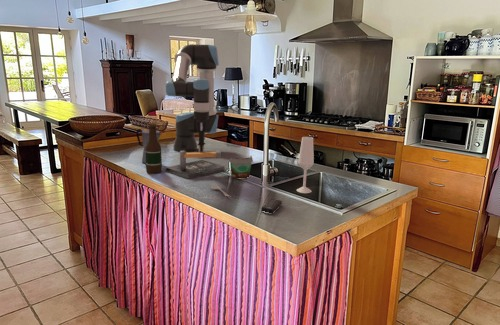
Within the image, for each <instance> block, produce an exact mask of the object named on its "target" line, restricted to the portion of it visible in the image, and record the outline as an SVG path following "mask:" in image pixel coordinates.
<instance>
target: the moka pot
mask: <svg viewBox="0 0 500 325" xmlns="http://www.w3.org/2000/svg"><path fill="white" fill-rule="evenodd" d="M139 133H140V134H141V137H142V142H141V139H140V135H139ZM135 135H136V138H137V142H138V144H139V145H138V146H141V147H143V152H142V157H141V162H142V163H143V164H146V154H145V149H146V145H147V143H148V141H149V129H142V128H141V129H140V128H138V129H137V131H136V132H135ZM156 135H157V141H158V142H159V140H160V137H161V135H162V132H160V130H157V129H156Z"/></svg>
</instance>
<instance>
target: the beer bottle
mask: <svg viewBox="0 0 500 325" xmlns="http://www.w3.org/2000/svg"><path fill="white" fill-rule="evenodd" d="M148 128H149V129H148V130H149V141H148V143H147V145H146V149H145V154H146V163H145V171H146V173H147V174H150V175H151V174H152V175H156V174H160V173H162V171H163V169H162V168H163V164H162V162H163V161H162V146H161V144H160V142H159V140H158V141H157V135H156V130H157V125H156V124H154V123H153V124H148Z"/></svg>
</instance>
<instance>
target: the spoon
mask: <svg viewBox="0 0 500 325" xmlns="http://www.w3.org/2000/svg"><path fill="white" fill-rule="evenodd" d="M213 188H214V189H213ZM217 188H218V189H217ZM210 189H211V190H214V191H217V190H219V191H220V192H221V193H222V194H223V195H224V196H225V197H226V196H230V195H229V194H228V193H227V192H226V191H224V190H222V187H220V186H219V185H217V184H214V183H212V184H211V185H210Z"/></svg>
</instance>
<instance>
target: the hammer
mask: <svg viewBox="0 0 500 325" xmlns="http://www.w3.org/2000/svg"><path fill="white" fill-rule="evenodd" d="M199 157H204V158H215V159H222V152H221V150H214V151H204V152H199V151H198V152H197V151H194V152H193V151H190V152H186V151H179V163H180V164H179V165H180V169H181V170H185V169H186V163H187V159H190V158H192V159H193V158H195V159H197V158H198V159H199Z"/></svg>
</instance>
